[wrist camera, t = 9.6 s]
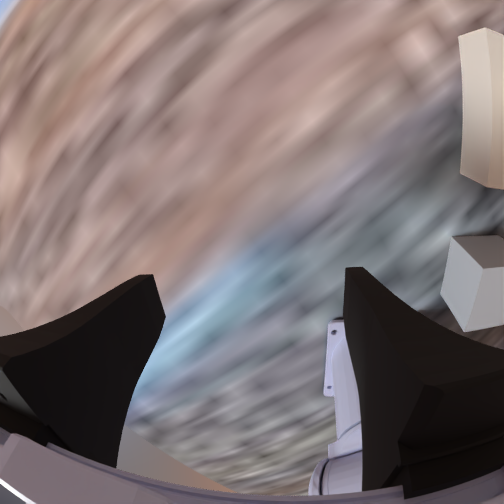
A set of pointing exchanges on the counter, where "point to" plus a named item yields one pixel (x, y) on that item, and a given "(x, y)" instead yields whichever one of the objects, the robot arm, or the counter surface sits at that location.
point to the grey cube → (475, 281)
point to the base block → (483, 107)
